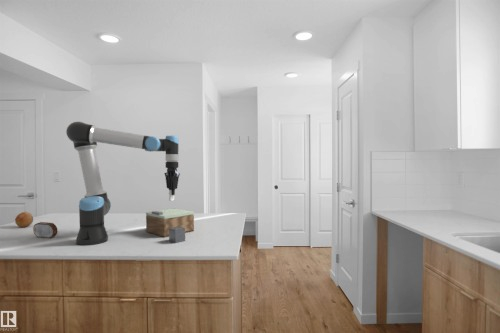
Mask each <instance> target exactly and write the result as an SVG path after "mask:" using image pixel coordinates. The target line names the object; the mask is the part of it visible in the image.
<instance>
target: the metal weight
mask: <svg viewBox="0 0 500 333" xmlns="http://www.w3.org/2000/svg"><path fill="white" fill-rule="evenodd" d="M168 242H170V243H172V244H179V243H183V242H186V233H185V228H183V227H179V226H178V227H173V228H169V237H168Z"/></svg>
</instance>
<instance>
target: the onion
mask: <svg viewBox="0 0 500 333" xmlns="http://www.w3.org/2000/svg"><path fill="white" fill-rule="evenodd" d="M14 220H15V221H14V222H15V223H14V224H15V225H16V226H18V227H20V228H27V227H30V225H32V223H33V222H34V217H33V215H32V214H31V213H30V212H28V211H22V212H20V213H19V214H17V215H16V216H15V219H14Z"/></svg>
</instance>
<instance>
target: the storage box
mask: <svg viewBox="0 0 500 333" xmlns="http://www.w3.org/2000/svg"><path fill="white" fill-rule="evenodd" d="M194 216H195V215H194V214H192V215H186V216H180V217H174V218H168V219H162V218H157V217H153V216H148V215H146V214H145V222H146V224H145V225H146V228H145V229H146V232H145V233H148V234H152V235H155V236H158V237H162V238H169V228H173V227H178V226H179V227H183V228H185V234H188V233H192V232H195V217H194Z"/></svg>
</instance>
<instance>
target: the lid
mask: <svg viewBox="0 0 500 333" xmlns="http://www.w3.org/2000/svg"><path fill="white" fill-rule="evenodd" d="M192 214H193V215H194V214H195V211H191V210H185V209H182V208H181V209H179V208H169V209H168V208H167V209H162V210H155V211H154V210H153V211H148V212H145V216H146V215H148V216H153V217H157V218H162V219H168V218H174V217H180V216H186V215H192Z"/></svg>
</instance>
